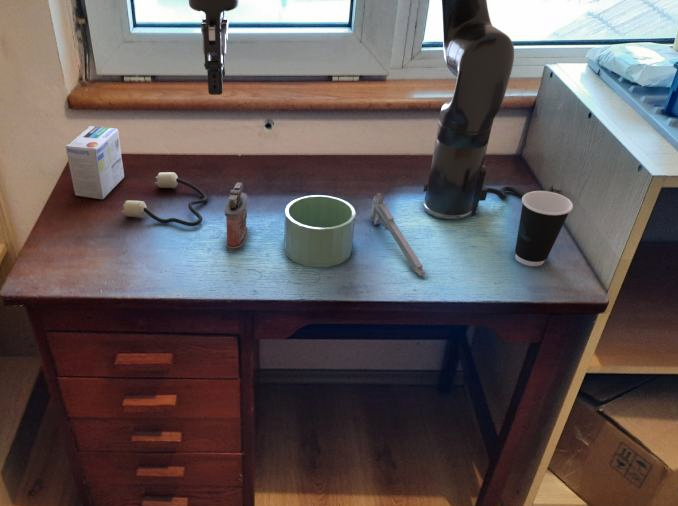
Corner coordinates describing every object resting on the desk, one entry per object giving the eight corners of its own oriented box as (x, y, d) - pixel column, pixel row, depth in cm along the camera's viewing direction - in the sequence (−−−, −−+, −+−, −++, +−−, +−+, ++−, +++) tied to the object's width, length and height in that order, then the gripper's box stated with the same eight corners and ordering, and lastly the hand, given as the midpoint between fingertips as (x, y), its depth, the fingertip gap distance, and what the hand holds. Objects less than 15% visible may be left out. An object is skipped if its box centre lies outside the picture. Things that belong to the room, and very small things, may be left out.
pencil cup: (342, 229, 123) (346, 193, 118) (358, 264, 114) (363, 226, 109) (279, 234, 122) (280, 197, 117) (290, 269, 112) (291, 231, 108)
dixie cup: (497, 258, 115) (512, 201, 108) (520, 241, 119) (537, 185, 112) (539, 276, 110) (558, 218, 103) (562, 259, 114) (582, 201, 107)
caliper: (369, 220, 125) (373, 189, 121) (374, 219, 126) (378, 189, 122) (419, 277, 110) (425, 245, 106) (425, 276, 111) (431, 244, 107)
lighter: (241, 252, 117) (240, 201, 110) (222, 250, 117) (220, 199, 111) (250, 229, 123) (250, 180, 116) (232, 228, 123) (231, 178, 117)
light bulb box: (97, 173, 141) (88, 124, 135) (125, 177, 140) (119, 127, 133) (73, 196, 134) (63, 145, 127) (104, 200, 132) (95, 149, 125)
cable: (228, 194, 134) (227, 178, 132) (194, 233, 122) (193, 216, 120) (159, 182, 138) (157, 166, 136) (121, 218, 127) (118, 202, 124)
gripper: (236, -18, 91) (239, 100, 101) (239, -38, 101) (241, 70, 112) (182, -18, 91) (190, 100, 101) (191, -38, 102) (197, 70, 112)
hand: (217, 84), depth 106 cm, fingers open, 8 cm apart
